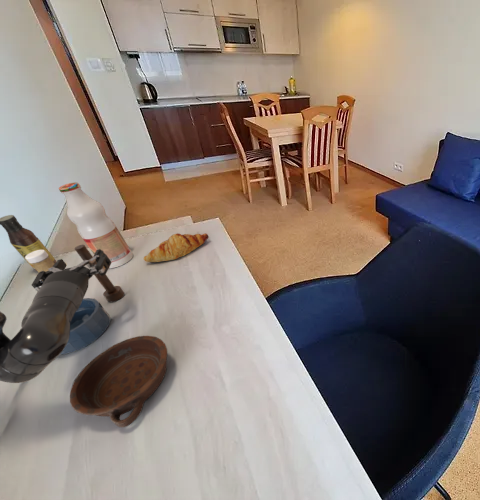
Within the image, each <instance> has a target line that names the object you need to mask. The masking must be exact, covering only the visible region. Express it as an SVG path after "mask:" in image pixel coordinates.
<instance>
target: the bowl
mask: <svg viewBox="0 0 480 500" xmlns="http://www.w3.org/2000/svg"><path fill="white" fill-rule="evenodd" d="M110 324H111V316H110V314H109V313H108V312H107V310H106V309H105V308H104V306H103V305H102V303H100V301H99V300H97V299H96V298H92V297H86V298H85V297H84V298H83V300H82V302H81V305H80V307H79V308H78V310H77V311H76V313H75V315H74V317H73V319H72V321H71V323H70V336H69V340H68V342H67V345H66V346H65V348H64V350H63V351H62V352H61V353H60V355H66V354H70V353H74V352H77V351H80V350H82V349H84V348H86V347H87V346H89V345H91V344H92V343H94V342H95V341H96V340H97V339H99V338H100V337H101V336H102V335H103V334H104V333H105V331H106V330H107V329H108V328H109V325H110Z"/></svg>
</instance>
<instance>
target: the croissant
mask: <svg viewBox="0 0 480 500" xmlns="http://www.w3.org/2000/svg"><path fill="white" fill-rule="evenodd" d="M208 239H209V234H208V233H207V232H206V233H202V234H200V233H195V234H190V233H187V234H186V233H184V234H181V233H178V232H177V233H174V234H172V235H171V236H169V237H168V239H167V240H164V241H162V242H160V243H159V244H158V246H157V247H155V248H153V249H151V250H150V251H149V252H148V254H147V255H145V256H143V261H144V262H147V263H159V262H167V261H174V260H177V259H179V258H181V257H185V256H187V255H188V254H190V253H192V252H193V251H194V250H196V249H197V248H199V247H201V246H202V245H203V244H205V243H206V241H207V240H208Z"/></svg>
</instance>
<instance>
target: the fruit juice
mask: <svg viewBox="0 0 480 500" xmlns="http://www.w3.org/2000/svg"><path fill="white" fill-rule="evenodd" d="M58 191H59V192H60V194H62V195H63V196H64V198H65V200H66V205H67V209H66V216H67V218H68V219H69V221H70V222H72V223H73V224H74V225H75V226H76V230H77V232H78V235H80V237H81V239H82V240H83V241H84V242H85V244H86V246H87V247H88V248H89V249H90V251H91V252H92V254H93V255H94V254H95V252H96V250H98V249H101V250H103V252H104V253H105V254H106V255H107V256H108V258H109V259H110V261H111V262H112V263H111V265H110V267H109V269H114V268H118V267H121V266H123V265H125V264H127V263H128V262H130V261H131V260H132V258H133V257H134V254H133V251H132V249H131V248H130V246H129V244H128V243H127V241H126V240H125V239H124V236H123V235H122V233H121V232H120V231H119V229H118V227H117V226H116V224H115V222H114V221H113V219H112V218H111V217H110V216H108V215H107V214H106V209H105V207H104V206H103V205H102V203H100V202H99V201H97V200H95V199H93V197H92V198H91V196H89V195H88V194H87V193H86V192H84V191H83V189H82V186H81V185H80V183H79V182H76V181H75V182H69V183H66V184H63V185H60V187H58Z"/></svg>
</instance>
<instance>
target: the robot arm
mask: <svg viewBox="0 0 480 500" xmlns="http://www.w3.org/2000/svg"><path fill="white" fill-rule="evenodd" d="M92 256H93V258H91V259H90V260H85V261H83V260H82V261H81V262H80V263H79V264H77V265H74V266H72V267H67V263H66V262H65V260H63V258H60V259H57V260H56V263H55V264H54V265H53V267H51V268H49V269H48V270H49V271H46V272H45V271H41V272H37V274H36V276H35V278H34V279H33V281H32V283H31V287H32V288H33V289H34V290H35V292H36V294H34V296H33V299H32V302H31V304H30V306H29V307H28V309H27V311H26V312H25V314H24V316H23V318H22V320H21V322H20V323H21V328H20V330H19V331H18V332H17V333H16V334H15V335H14V337H12V339H10V338H9V336H7V334H5V332H4V327H5V324H6V322H7V315H6V314H5V313H3V312H2V311H0V382H3V383H7V384H20V383H26V382H29V381H31V380H33V379H35V378H36V377H38V376H39V375H40V374H41V373H42V372H43V371H44V370H46V368H47V367H48V366H50V365H51V363H53V362H54V361H55V360H56V359H57V358H58V357H59V356H60V355H61V354H60V353H61V352H62V351H63V350H64V348H65V346H66V345H67V342H68V340H69V336H70V323H71V321H72V319H73V317H74V315H75V313H76V311H77V310H78V308H79V307H80V305H81V302H82V300H83V299H84V298H85V296H86V293H87V291H88V289H89V281H90V279H91V278H93V276H95V274H100V275H101V276H103V275H105V274H106V275H107V273H108V271H109V269H110V268H109V267H110V265H111V263H112V262H111V261H110V259H109V258H108V256H107V255H106V254H105V253H104V252H103V250H101V249H98V250H96V252H95V254H93V255H92ZM94 261H96V262H97V264H96V265H94V264H93V262H94ZM86 266H87V267H86ZM66 267H67V268H66ZM88 267H89V268H88Z"/></svg>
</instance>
